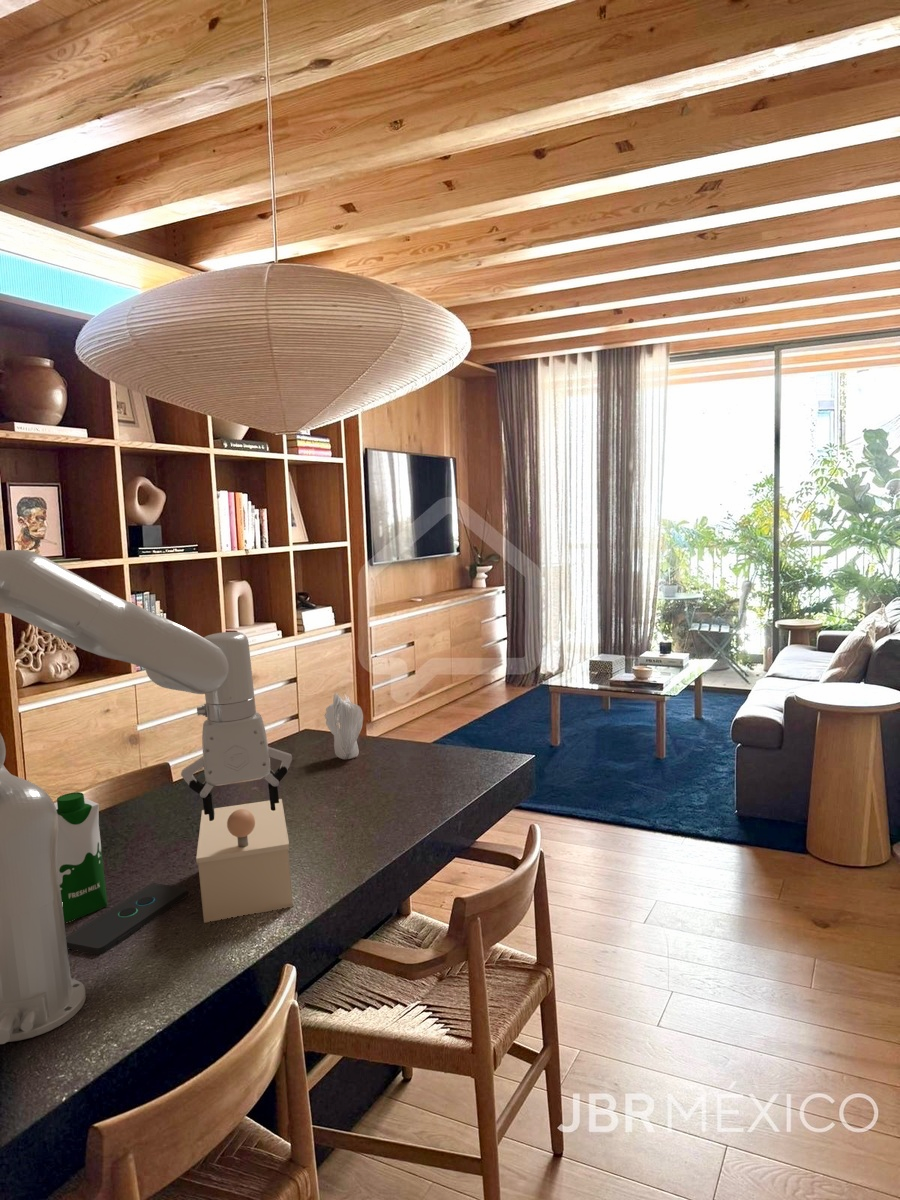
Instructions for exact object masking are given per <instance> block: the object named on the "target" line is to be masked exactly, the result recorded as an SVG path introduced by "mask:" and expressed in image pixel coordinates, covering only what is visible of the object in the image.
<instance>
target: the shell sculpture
mask: <svg viewBox="0 0 900 1200" xmlns="http://www.w3.org/2000/svg"><path fill="white" fill-rule="evenodd" d="M344 697H345V698H344ZM332 700H333V702H332V703H331V704H330V705H328V706H327V707H326V709H325V714H324V719H325V720H326V721H325V725H326V727H327V728H328V729H329V731H330V733H331V734H332V735H333V740H334V741H333V743H334V744H333V746H334V754H335V755H336V757H337V758H339V759H340V760H341V759H342V760H350V759H354V758H356V757H358V755H359V754H360V753H359V752H360V751H359V746H358V742H357V740H358V738H359V736H360V734H361V731H362V728H363V724H364V723H363V721H364V713H363V710H362V707H361V706H360V705H358V704H357V703H354V702H351V700H350V697H349V696H347V695H346V693H345V692H344V694H343V695H342V697H341V695H339V693H334V694H333V699H332Z"/></svg>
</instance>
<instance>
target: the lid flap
mask: <svg viewBox="0 0 900 1200" xmlns="http://www.w3.org/2000/svg"><path fill="white" fill-rule="evenodd" d="M283 804H284V803H283V798H279V803H275V811H272V810H271V806H270V800H264V801H263V800H262V801H257V802H251V803H250V802H249V803H244V804H243V803H242V804H238V805H237V804H235V805H229V806H222V807H214V813H215V815H214V820H213V821H209V814H207V815H205V814H204V809H202V810H201V815H200V816H201V817H200V825H199V835H198V841H197V848H196V849H197V850H196V858H195V860H196V861H195V862H196V864H198V863H203V862H209V861H215V860H222V859H228V858H234V857H241V856H247V855H253V854H259V853H266V852H272V851H278V850H284V849H288V850H289V849H290V842H289V835H288V827H287V823H286V818H285V811H284V805H283Z"/></svg>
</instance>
